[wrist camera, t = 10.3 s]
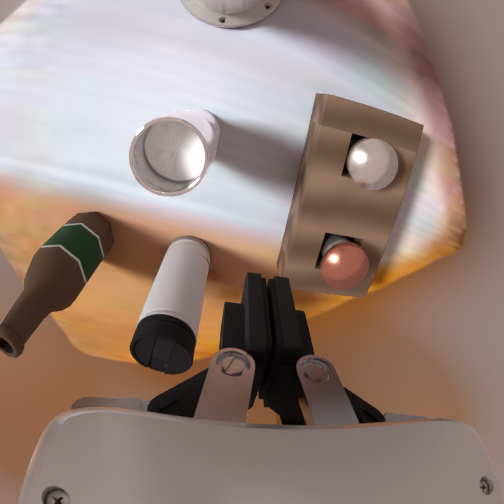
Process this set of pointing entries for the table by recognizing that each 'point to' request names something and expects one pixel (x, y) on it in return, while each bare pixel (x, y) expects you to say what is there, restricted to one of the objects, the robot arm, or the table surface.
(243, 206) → the table surface
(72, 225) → the beer bottle
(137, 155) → the beer glass
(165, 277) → the travel mug
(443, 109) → the table surface
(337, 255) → the plug terracotta
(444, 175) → the table surface
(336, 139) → the socket board
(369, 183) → the plug cream
